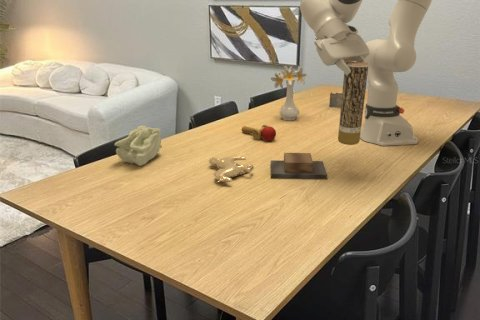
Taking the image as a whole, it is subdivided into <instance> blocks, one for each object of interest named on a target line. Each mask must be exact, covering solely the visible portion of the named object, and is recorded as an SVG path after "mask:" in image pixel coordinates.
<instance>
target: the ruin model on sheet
mask: <svg viewBox="0 0 480 320" xmlns="http://www.w3.org/2000/svg"><path fill="white" fill-rule="evenodd" d="M341 102H342V93H341V92H335V93H333V92H330V93H329V108H338V109H341Z"/></svg>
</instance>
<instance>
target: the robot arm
mask: <svg viewBox="0 0 480 320" xmlns="http://www.w3.org/2000/svg"><path fill="white" fill-rule="evenodd" d="M432 1H433V0H398V1H397V2H396V5H395V7H394V9H393V11H392V13H391V14H390V16H389V18H388V24H389V27H390V29H389V34H388V38H387V39H382V38H376V39H372V40H368V41H367V42H365V41H364V39H363V38H362V36H361V35H360V34H358V33H359V29H357V28H356V26H353V25H352V26H351V25H349V24H348V23H350V22H351V21H353V19H354V18H355V17H356V15H357V13H358V11H359V9H360V7H361V4H362V2H363V0H301V1H300V3H299V10H300V12H301V15H302V17H303V19H304V20H305V22H306V24H307V26H308V27H309V28H310V29H311V30H313V32H314V35H315V37H316V38H315V39H314V45H315V46H316V52H317V54H318V56H319V57H320V60H321V61H322V63H323V64H324V65H325V66H327V67H330V66H334V65H335V66H336V67H337V68H338V69H340V70H341V71H343V74H344V73H345V74H346V75H349V74H351V73H352V72H353V70H352V69H351V67H348V66H347V65H346V62H364V63H368V74H367V81H368V82H367V83H368V91H367V102H366V103H365V106H364V107H365V108H364V122H363V125H362V128H361V133H360V139H361V140H362V141H365V142H367V143H371V144H376V145H379V146H383V147H385V146H386V147H387V146H403V145H404V146H407V145H417V144H418V143H419V138H418V137H417V136H416V135H415V134H414V130H413V126H412V124H411V123H410V122H409V121H407V119H405V118H404V117H403V116H402V114H404V113H405V109H404V108H403V107H400V106H399V105H397V101H398V93H399V84H398V82H397V80H396V78H395V76H394V73H403V72H408V71H409V70H411V69H412V68H413V66H414V64H415V63H416V60H417V53H416V49H415V41H416V36H417V32H418V30H419V28H420V26H421V24H422V22H423V20H424V18H425V15H426V13H427V11H428V10H429V8H430V6H431V4H432Z"/></svg>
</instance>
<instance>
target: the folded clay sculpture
mask: <svg viewBox="0 0 480 320" xmlns="http://www.w3.org/2000/svg"><path fill="white" fill-rule="evenodd" d="M161 132H162V131H161V129H160V128H157V127H154V128H152V127H148V126H145V125H144V124H142V125H139V126H138V127H137V128H135V129H132V130H130V131H129V133H128V135H127V136H126V137H125V138H122V139H119V140H118V141H116V142H115V143H114V146H115V147H116V149H115V153H116V155H117V156H118V158H119V159H120V160H121V161H122V162H123V163H130V164H135V165H137V166H139V167H142V166H145V165H146V164H147V163H148V162H149V161H150V160H153V158H154V157H156V156H157V155H158V153H159V152H160V149H161V148H162V147H163V146H162V138H161V137H162V136H161Z"/></svg>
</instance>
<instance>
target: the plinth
mask: <svg viewBox="0 0 480 320" xmlns="http://www.w3.org/2000/svg"><path fill="white" fill-rule="evenodd" d="M270 179H286V180H288V179H294V180H295V179H296V180H297V179H300V180H305V179H306V180H327V179H328V173H327V170H326V167H325V163H324V160H313V157H312V154H311V152H284V153H283V160H275V159H274V160H270Z"/></svg>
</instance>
